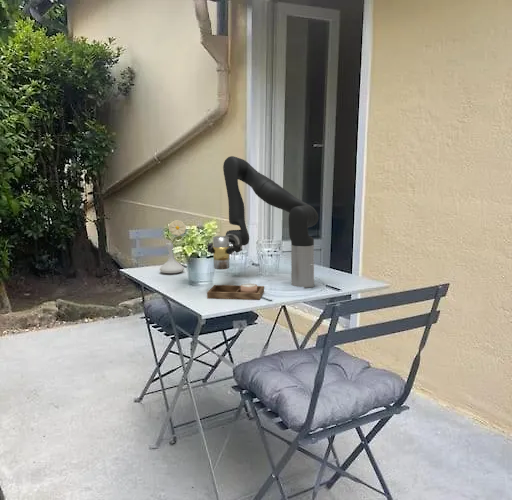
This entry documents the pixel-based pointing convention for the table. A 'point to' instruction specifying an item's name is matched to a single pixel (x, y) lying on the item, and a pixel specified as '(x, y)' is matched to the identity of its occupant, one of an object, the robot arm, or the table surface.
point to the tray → (233, 293)
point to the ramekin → (249, 288)
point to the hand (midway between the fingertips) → (219, 251)
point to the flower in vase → (172, 264)
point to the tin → (221, 252)
